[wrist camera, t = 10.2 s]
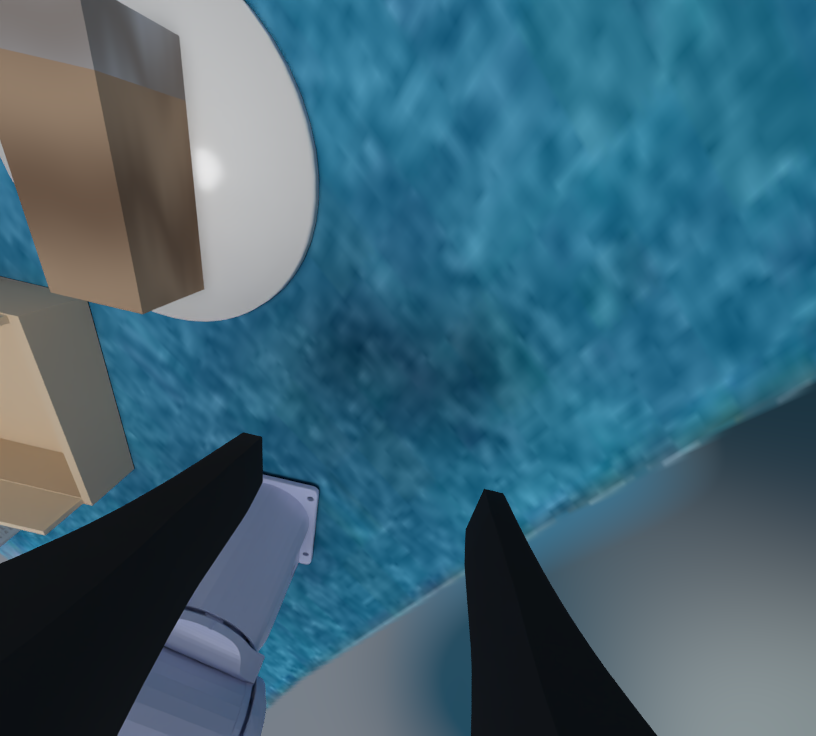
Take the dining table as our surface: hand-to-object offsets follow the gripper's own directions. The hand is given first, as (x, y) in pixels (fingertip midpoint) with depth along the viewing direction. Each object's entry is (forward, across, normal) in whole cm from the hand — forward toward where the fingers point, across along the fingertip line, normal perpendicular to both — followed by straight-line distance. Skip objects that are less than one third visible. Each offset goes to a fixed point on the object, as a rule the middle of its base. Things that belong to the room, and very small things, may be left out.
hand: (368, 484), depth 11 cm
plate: (+9, +13, -7) cm, 18 cm away
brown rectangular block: (+9, +13, -7) cm, 17 cm away
